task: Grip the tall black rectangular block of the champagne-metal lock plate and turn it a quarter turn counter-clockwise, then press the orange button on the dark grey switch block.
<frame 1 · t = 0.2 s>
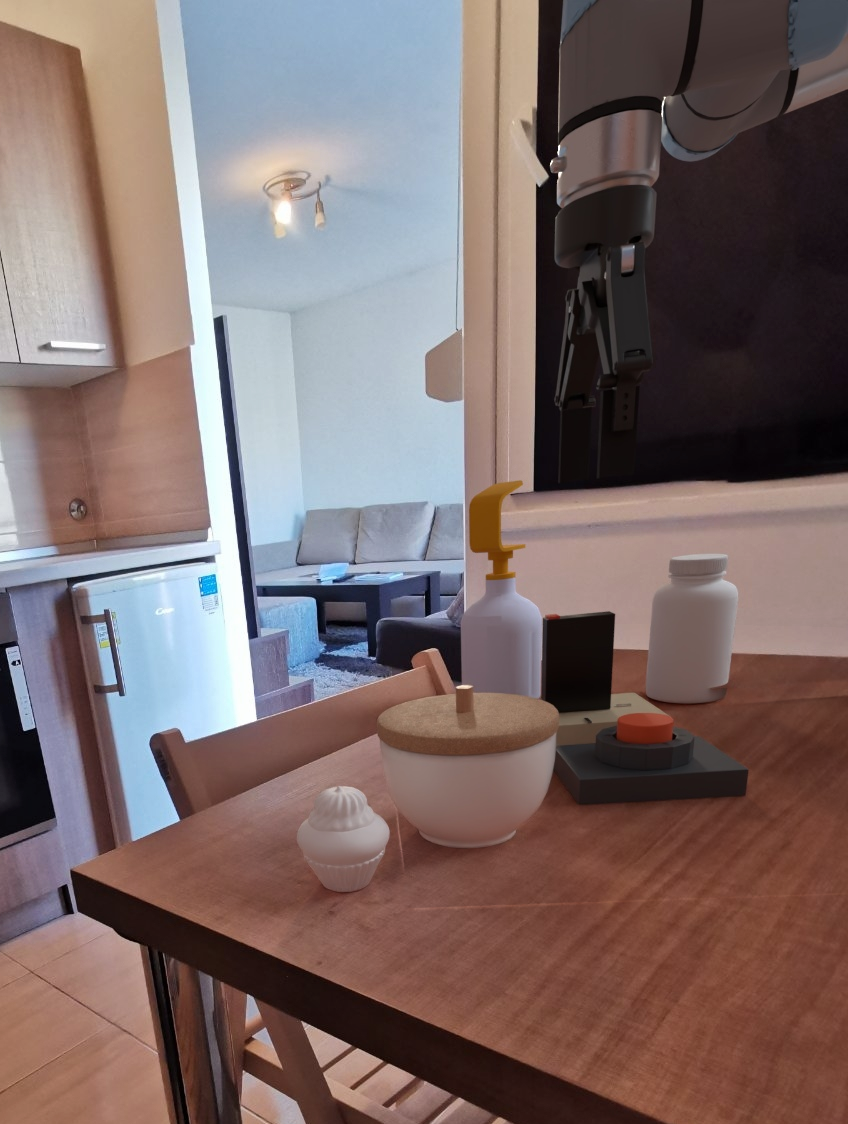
hand: (592, 479, 69), 24 cm above the table, tool pointing down, fingers open, 13 cm apart
switch block: (640, 781, 63), on the table
lock plate: (574, 739, 75), on the table
button: (644, 729, 61), point 4 cm above the table, slide at 0.1 cm
black rectangular block: (576, 662, 72), point 8 cm above the table, hinge at 0.0°
soap bottle: (500, 701, 92), on the table
lidded bowl: (466, 831, 58), on the table
pill bottle: (685, 698, 85), on the table
muffin: (346, 884, 52), on the table
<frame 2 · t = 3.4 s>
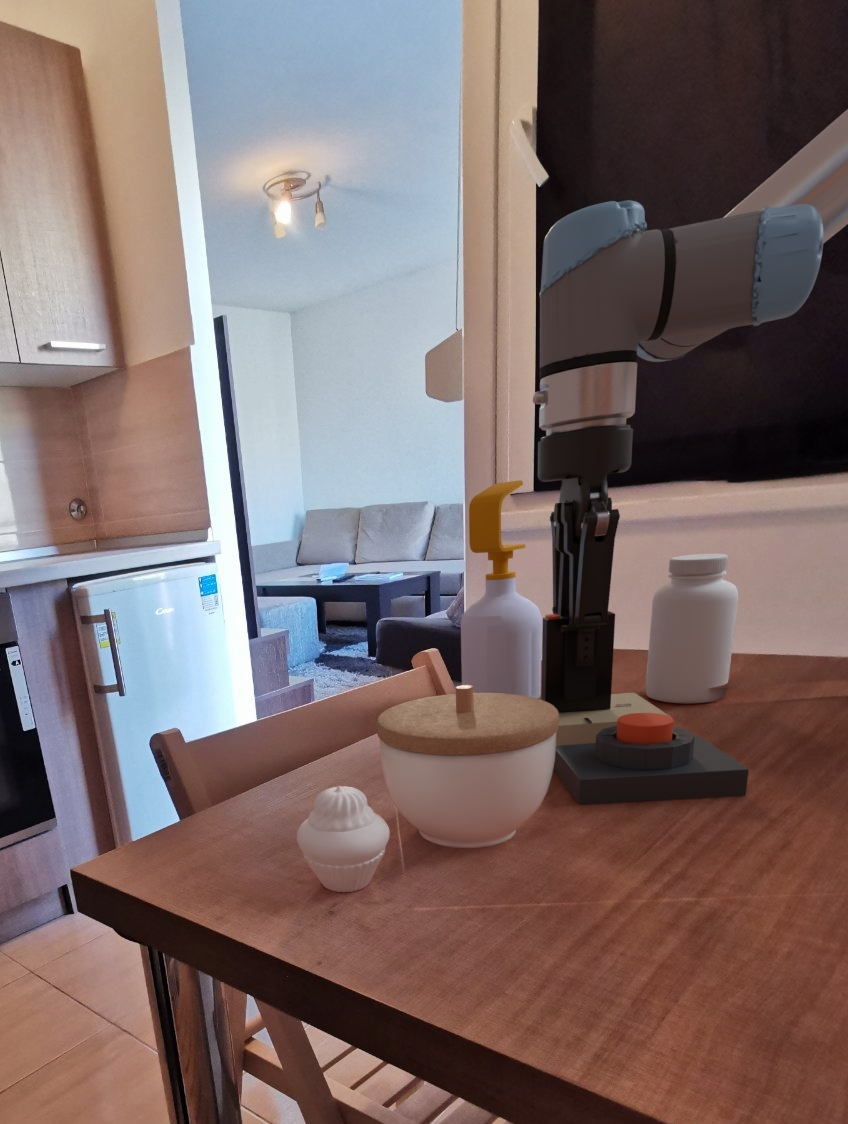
hand: (575, 694, 74), 4 cm above the table, tool pointing down, fingers closed on black rectangular block, 2 cm apart
black rectangular block: (576, 662, 72), point 8 cm above the table, hinge at -0.1°, touching gripper
everything else where it was.
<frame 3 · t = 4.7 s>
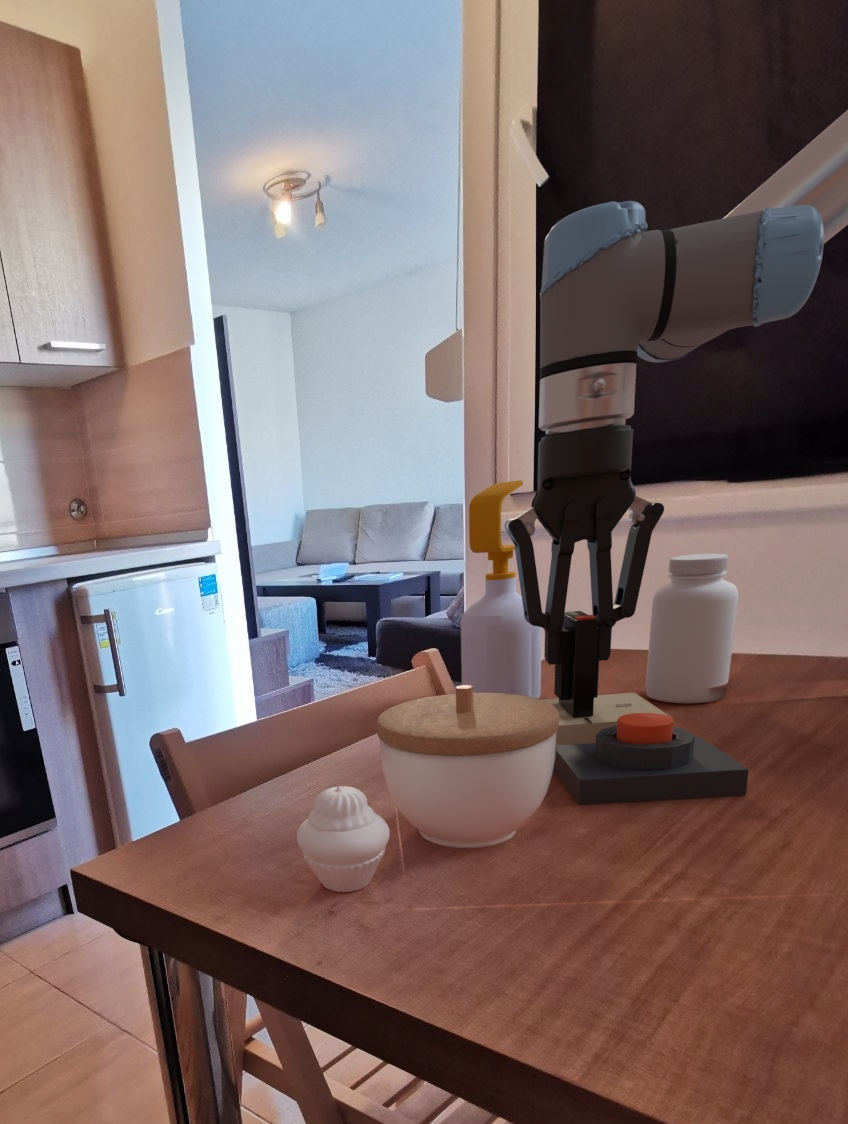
hand: (575, 695, 74), 4 cm above the table, tool pointing down, fingers closed on black rectangular block, 2 cm apart
black rectangular block: (576, 662, 72), point 8 cm above the table, hinge at 89.3°, touching gripper
everything else where it was.
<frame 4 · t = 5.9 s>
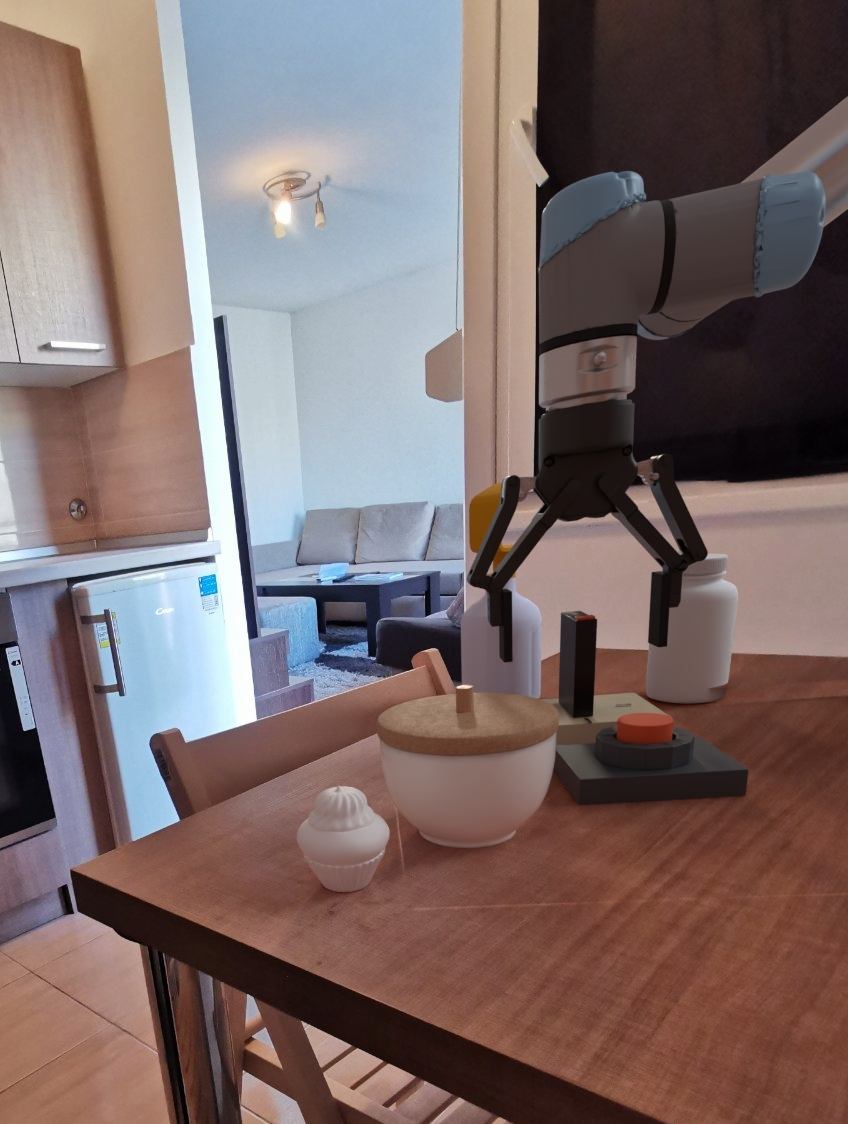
hand: (580, 652, 72), 9 cm above the table, tool pointing down, fingers open, 13 cm apart
black rectangular block: (576, 662, 72), point 8 cm above the table, hinge at 89.2°
everything else where it was.
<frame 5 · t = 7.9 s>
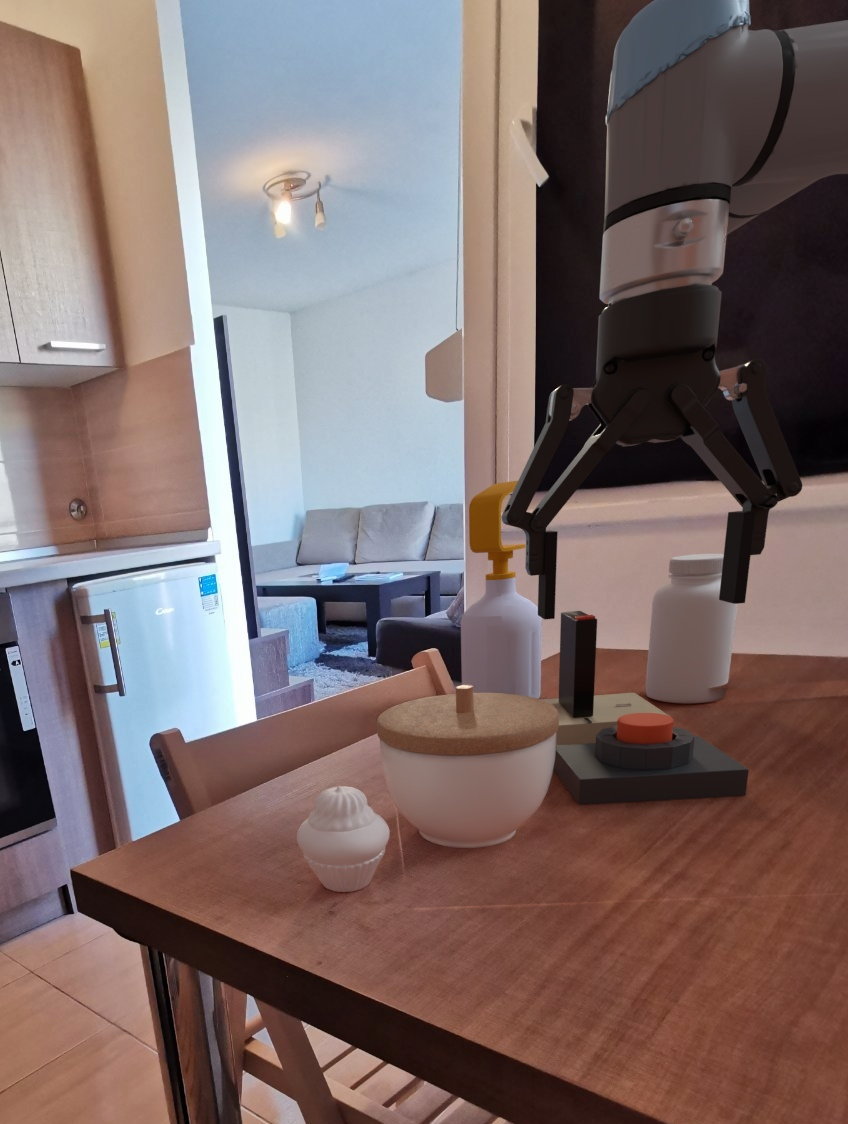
hand: (636, 609, 60), 14 cm above the table, tool pointing down, fingers open, 13 cm apart
nothing on the table moved.
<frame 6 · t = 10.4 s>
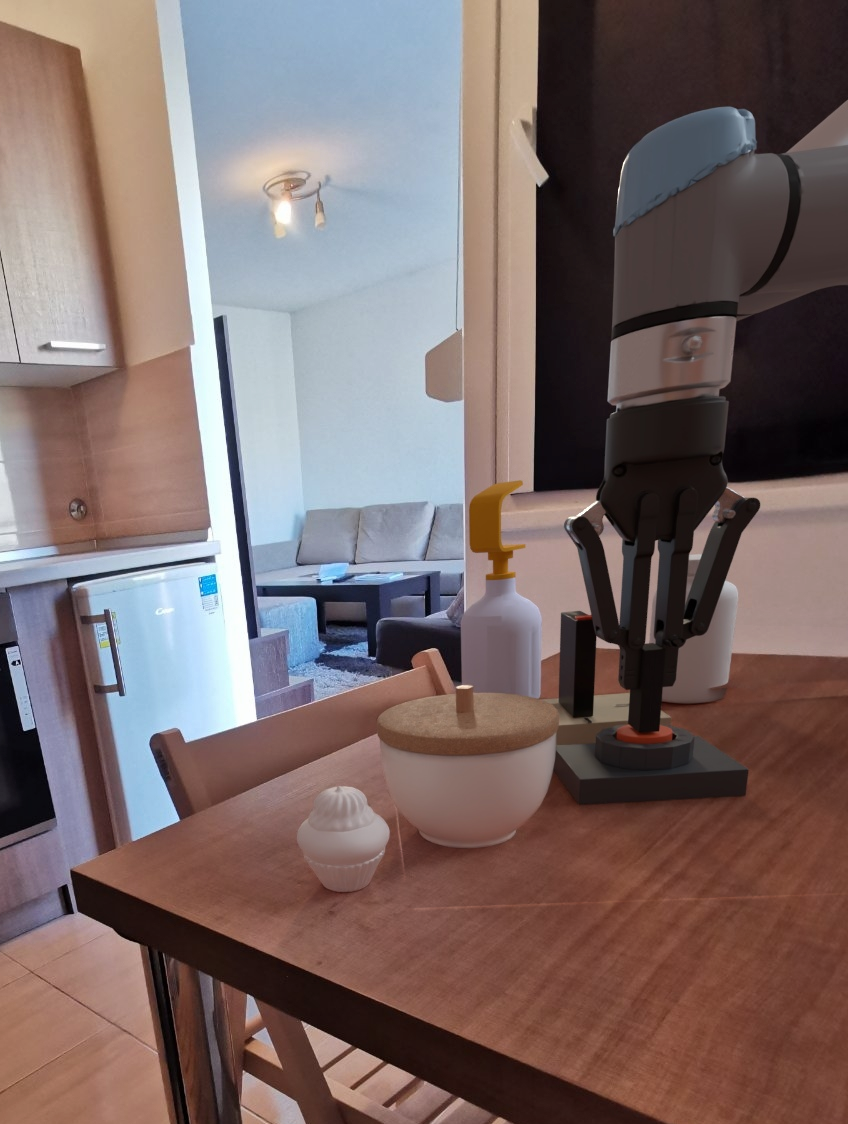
hand: (643, 727, 61), 5 cm above the table, tool pointing down, fingers closed
button: (643, 740, 62), point 4 cm above the table, slide at -0.8 cm, touching gripper
everything else where it was.
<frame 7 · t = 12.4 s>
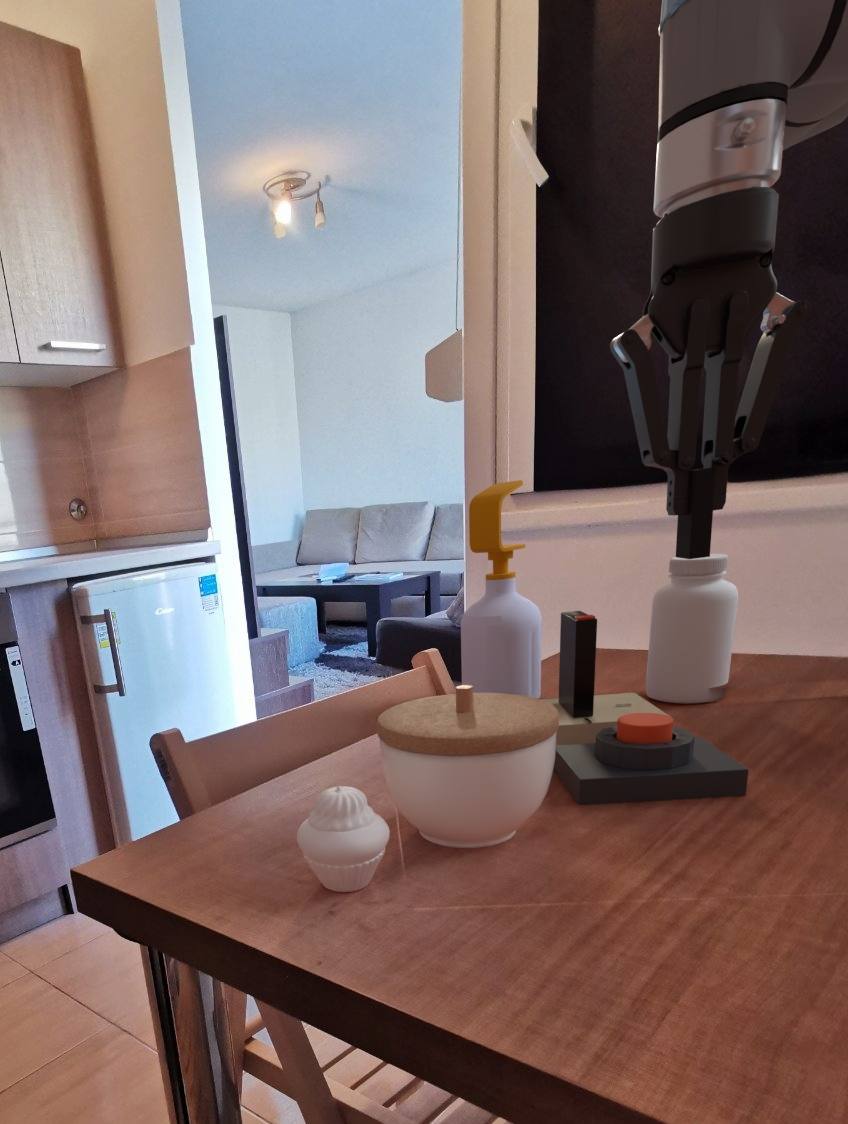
hand: (692, 556, 61), 17 cm above the table, tool pointing down, fingers closed
button: (644, 729, 61), point 4 cm above the table, slide at 0.1 cm
everything else where it was.
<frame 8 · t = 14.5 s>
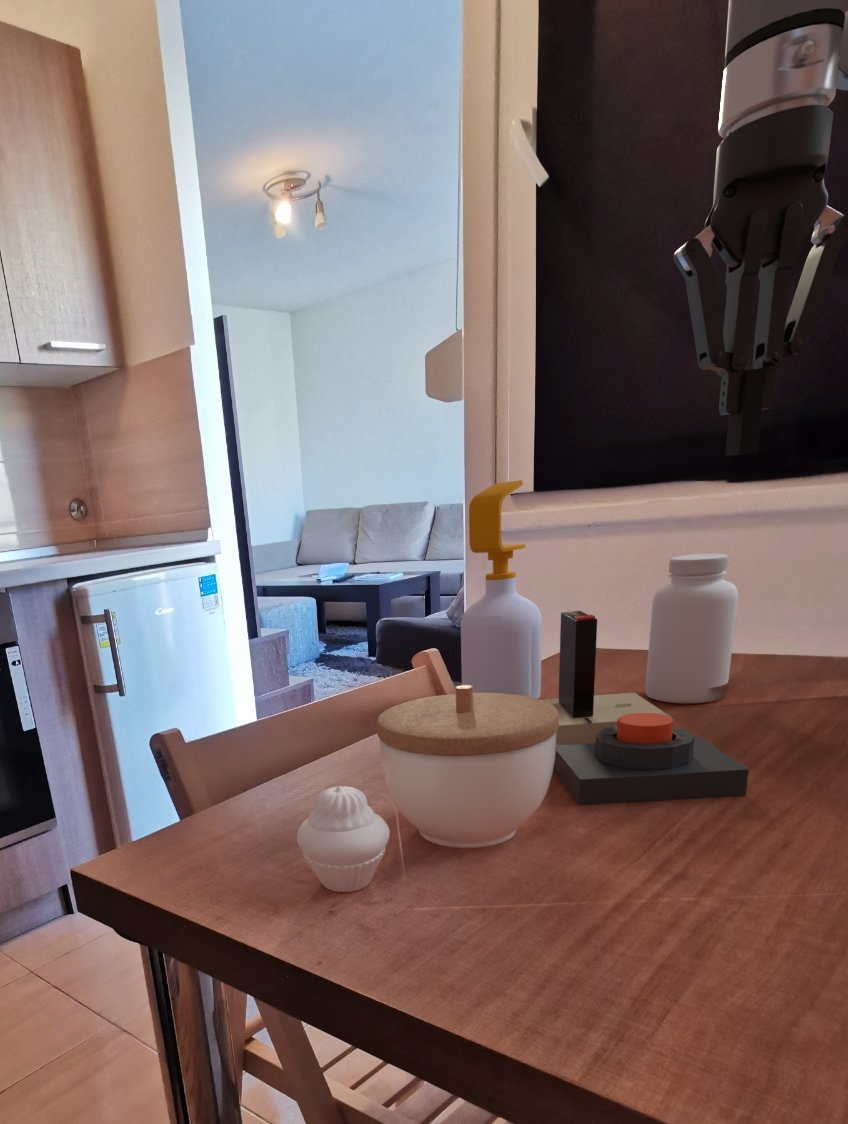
hand: (741, 453, 67), 24 cm above the table, tool pointing down, fingers closed
nothing on the table moved.
at the end: black rectangular block at +89° (first picture: +0°); button pushed in 1.0 cm at the most during the clip, back to where it started at the end; button slide at 0.1 cm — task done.
